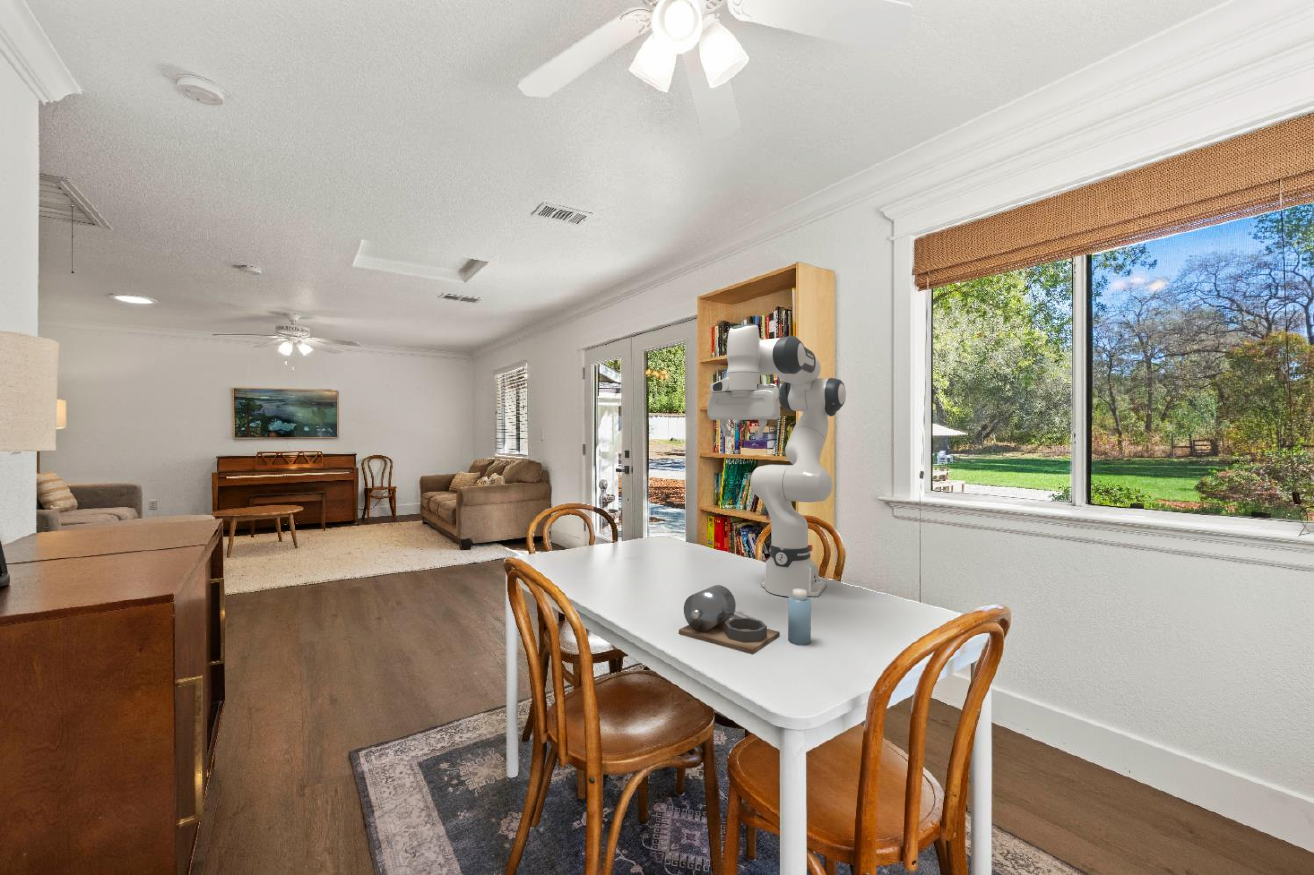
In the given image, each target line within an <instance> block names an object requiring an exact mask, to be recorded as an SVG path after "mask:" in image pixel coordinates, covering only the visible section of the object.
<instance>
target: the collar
mask: <svg viewBox="0 0 1314 875" xmlns="http://www.w3.org/2000/svg"><path fill="white" fill-rule="evenodd" d="M760 620H761V619H759V620H755V619H751V618H732V617H731V618H730V619H729V621H727V622H725V634H726V635H727V637H728V638H729V639H732V640H736V641H739V642H743V643H746V642H760V641H762V640H763V639H765V638H766V637H767V629H768V626H767V625H766V624H765V623H764V621H763V620H761V621H760ZM740 629H749V630H740Z"/></svg>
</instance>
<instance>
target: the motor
mask: <svg viewBox="0 0 1314 875" xmlns="http://www.w3.org/2000/svg"><path fill="white" fill-rule="evenodd" d="M736 606H737V604H736V599H735V596H734V595H733V593H732V592H731V590H730V589H728V588H727V587H726V586H723V585H722V584H721V585H720V584H716V585H712V586H709V587H707V588H705V589H703V590H700V591H698V592H696V593H693V594H691V595H689V596H688V597H687V598H686V600H685V602H684V604H683V615H684V619H685V620H686V623H687V624H688V625H690V626H691V627H692V628H693V629H695V630H696V631H699V632H705V631H708V630H710V629H712V628H713V627H715V626H717V625H719V624H721V623H723V622H725V621H727V620H730V619H732V616H733V615H734V613H735V611H736V609H737V607H736Z"/></svg>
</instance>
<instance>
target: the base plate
mask: <svg viewBox="0 0 1314 875" xmlns="http://www.w3.org/2000/svg"><path fill="white" fill-rule="evenodd" d="M729 620H730V619H729ZM729 620H727V621H729ZM727 621H725V622H727ZM725 622H723V623H721V624H719V625H717V626H715V627H713V628H712V629H710V630H708V631H705V632H699V631H696V630H695V629H693V628H692V627H691V626H690V625H689V624H688V625H685V626H683V627H681V628H680V629H678V635H682V636H686V637H689V638H693V639H696V640H701V641H704V642H708V643H712V644H714V643H715V644H714V645H719V646H722V647H725V648H729V649H732V650H737V651H740V652H743V653H748V654H750V655H754V654H755V653H757V652H758V651H759V650H761V649H763V648H764V647H765V646H767V645H768V644H770V643H771V642H773V641H774V640H776V639H777V638H779V637H780V631H778V630H775V629H769V628H767V637H766V638H765V639H763V640H762V641H760V642H746V643H743V642H739V641H736V640H732V639H729V638H728V637H727V635H726V634H725ZM740 630H749V629H740Z"/></svg>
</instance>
